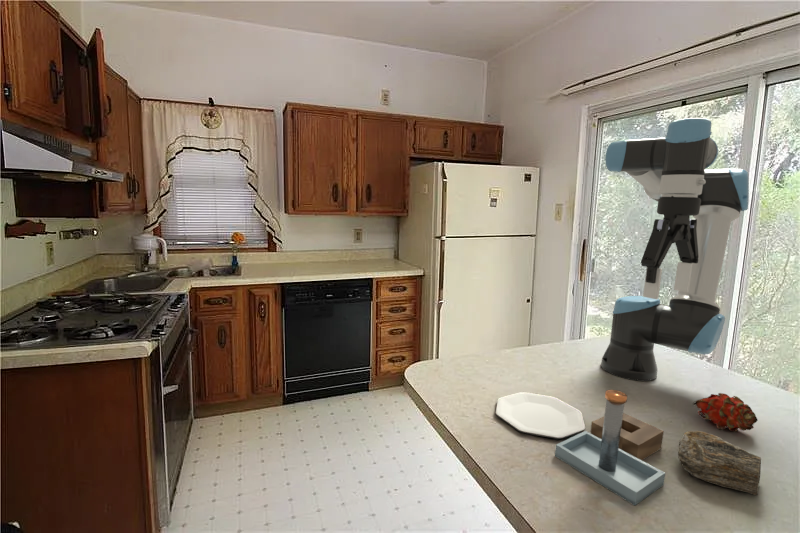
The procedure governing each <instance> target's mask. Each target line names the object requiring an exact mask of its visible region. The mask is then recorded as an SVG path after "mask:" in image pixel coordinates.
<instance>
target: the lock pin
mask: <svg viewBox="0 0 800 533" xmlns="http://www.w3.org/2000/svg"><path fill="white" fill-rule="evenodd" d="M604 398H605V399H606V401H605V410H604V415H603V416H604V424H603V432H602V440H601V449H600V457H599V467H600V468H601V469H603V470H605V471H608V472H614V471H615V470H616V464H617V457H618V449H619V441H620V434H621V426H622V418H623V413H624V409H625V404H626V403H627V401H628V395H627V394H626V393H625V392H622V391H620V390H617V389H607V390H605V395H604Z"/></svg>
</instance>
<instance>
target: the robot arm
mask: <svg viewBox="0 0 800 533" xmlns="http://www.w3.org/2000/svg"><path fill="white" fill-rule="evenodd" d="M711 135H712V121H711V119H710V118H706V117H705V118H704V117H688V118H681V119H675V120H673V121H671V122H670V123H669V124H668V125H667V131H666V136H665V137H656V138H654V137H653V138H641V139H640V138H639V139H636V138H635V139H622V140H617V141H616V140H615V141H612V142H611V143H609V145H607V148H606V152H605V158H604V159H605V162H604V163H605V167H606V170H608V171H609V172H614V173H621V172H623V173H624V172H625V173H627V174H628V175H629V176H630V177H631V178H632V179H633V180H635V181H636V182H637V183H638V184H640V185H641V186H642V187H643V190H644V192H645V194H646V195H647V196H648V197H649V198H650V199H652V200H654V201H655V202H657V207H656V213H657V215H663V219H658V218H657V219H654V222H653V225H652V226H653V227H652V231H651V232H650V237H649V239H648V241H647V245H646V247H645V250H644V252H643V254H642V257H641V260H640V263H641V264H640V265H641V266H642V267H646V270H645V279H644V287H643V294H642V295H629V296H622V297H619V298H617V299H616V300H615V301H614V302H615V303H614V307H613V311H612V322H611V328H610V329H611V330H610V339H609V340H610V341H609V344H608V346H607V348H606V350H605V352H604V354H603V355H602V357H601V362H600V366H601V368H602V370H604V371H606V372H607V373H609V374H610V375H614V376H616V377H620V378H622V379H625V380H626V379H627V380H632V381H643V382H644V381H645V382H646V381H652V380H653V381H654V380H655V379H656V378H657V377H658V376H657V375H658V365H657V362H656V358H655V357H656V356H655V354H654V353H655V352H654V345H658V346H664V347H666V348H667V347H668V348H672V349H676V350H681V351H683V352H684V351H685V352H688V353H692V354H693V353H695V354H699V355H709V354H711V353H712V352H713V351H714V350H715V348H716V347H717V344H718V342H719V340H720V339H721V338H720V337H721V335H722V332H723V329H724V325H725V322H726V317H725V315H724V314H722V313H720V311H721V307H720V306H719V305H718V304H717V303H716V297H717V296H716V295H717V290H718V287H719V283H720V282H719V281H720V278H721V273H722V267H723V262H724V259H725V254H726V249H727V245H728V243H727V242H728V239H729V235H730V229H731V224H732V222H733V221H735V220H737V219H738V218H739V217H740V216H741V215H740V214H741V212H745V211H747V210H748V209H749V197H750V196H749V195H750V193H749V192H750V191H749V190H750V185H749V184H750V182H749V181H750V180H749V179H750V178H749V173H748V171H747V170H746V169H742V168H730V167H729V168H716V169H715V168H714V169H713V168H710V167H711V166H712V165H713V164H714V163H715V162H716V160H717V158H718V155H719V149H718V148H719V147H718V144H717V143H716V141H715V140H714V139H713V138H711ZM708 168H709V169H708ZM691 216H692V217H693V218H690V217H691ZM672 244H675V248H676V250H677V253H678V257H679V260H680V261H677V265H676V273H675V280H674V287H673V291H678V293H677V295H676V296H674V297H671V298H670V299H669V303H668V305H666V304H661V300H660V299H659V295H660V287H661V281H662V274H663V273H662V272H663V268H662V267H661V265H662V264H663V262H664V260H665V258H666V257H667V254H668V252H669V251H670V249H671V247H672Z"/></svg>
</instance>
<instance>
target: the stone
mask: <svg viewBox="0 0 800 533" xmlns="http://www.w3.org/2000/svg"><path fill="white" fill-rule="evenodd" d="M677 452H678V453H677V455H678V458H677V459H679V462H680V464H681V465H682V468H683V469H684V470H685V471H686V472H688V473H689V475H691V476H692V477H694V478H696V479H700V480H702V481H704V482H707V483H710V484H713V485H716V486H721V487H723V488H727V489H732V490H734V491H735V490H736V491H740V492H746V493H748V494H751V495H754V496H758V492H759V485H760V482H761V481H760V480H761V473H762V472H761V468H762V458H761V456H758V455H755V454H753V453H751V452H748V451H747V450H746V449H743V448H741V447H740V446H738V445H735V444H733V443H730V442H728V441H726V440H725V439H722V438H721V437H719V436H716V435H715V434H712V433H708V432H706V431H700V430H690V431H688V430H687V431H686V432H684V434H683V436H682V437H681V438H680V440H679V442H678V451H677Z"/></svg>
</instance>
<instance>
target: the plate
mask: <svg viewBox="0 0 800 533" xmlns="http://www.w3.org/2000/svg"><path fill="white" fill-rule="evenodd" d="M495 414H496V416H497V417H498V418H500V419H501V420H502V421H504V422H505V423H507V424H508V425H509V426H511V427H512V428H514V429H515V430H517V431H518V432H520V433H523V434H528V435H533V436H539V437H544V438H550V439H556V440H562V439H565V438H568V437H570V436H571V437H572V436H575V435H578V434H580V433H582V432H584V431H586V425H585V421H584V417H583V413H582V411H581V410H580V409H577V408H576V407H574V406H572V405H570V404H568V403H567V402H566V401H563V400H561V399H560V398H557V397H556V396H550V395H544V394H538V393H534V392H533V393H532V392H526V391H520V392H516V393H512V394H508V395H505V396H501V397H499V398H498V399H497V401H496V409H495Z"/></svg>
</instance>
